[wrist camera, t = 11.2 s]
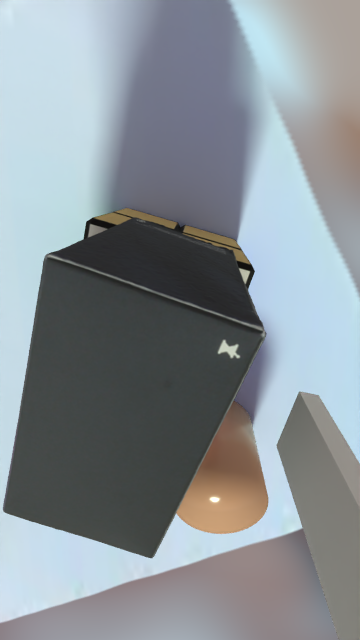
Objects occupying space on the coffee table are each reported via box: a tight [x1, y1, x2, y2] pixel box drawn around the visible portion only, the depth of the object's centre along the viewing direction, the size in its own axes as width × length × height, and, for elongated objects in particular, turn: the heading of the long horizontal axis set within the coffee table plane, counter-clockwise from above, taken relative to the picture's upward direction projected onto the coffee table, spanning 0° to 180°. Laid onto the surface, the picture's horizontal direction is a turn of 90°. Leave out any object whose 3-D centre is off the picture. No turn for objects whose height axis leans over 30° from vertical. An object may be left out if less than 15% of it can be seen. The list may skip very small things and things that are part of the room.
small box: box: [3, 217, 266, 558], centre depth 15 cm, size 11×6×10 cm, turn 161°
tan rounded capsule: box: [176, 401, 268, 534], centre depth 31 cm, size 8×8×9 cm
